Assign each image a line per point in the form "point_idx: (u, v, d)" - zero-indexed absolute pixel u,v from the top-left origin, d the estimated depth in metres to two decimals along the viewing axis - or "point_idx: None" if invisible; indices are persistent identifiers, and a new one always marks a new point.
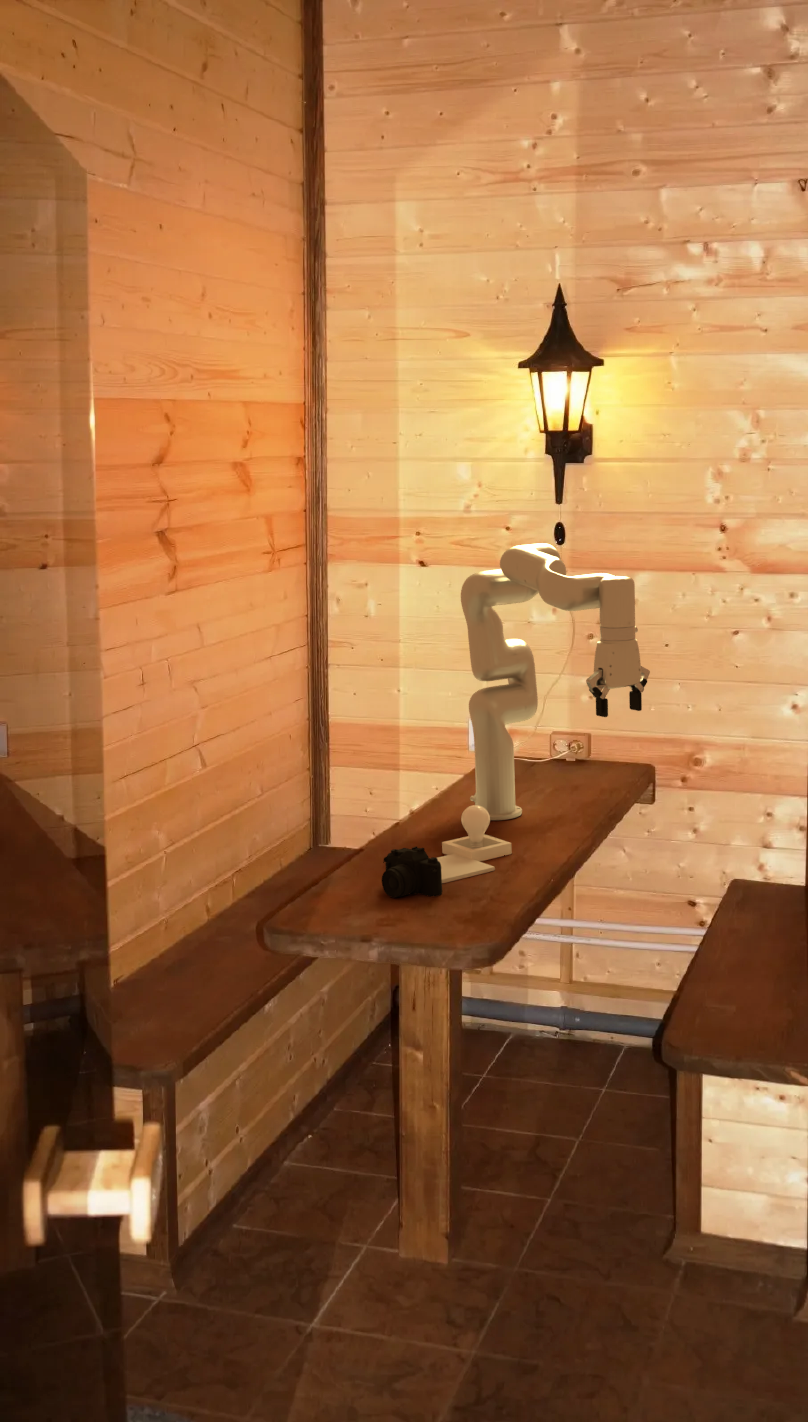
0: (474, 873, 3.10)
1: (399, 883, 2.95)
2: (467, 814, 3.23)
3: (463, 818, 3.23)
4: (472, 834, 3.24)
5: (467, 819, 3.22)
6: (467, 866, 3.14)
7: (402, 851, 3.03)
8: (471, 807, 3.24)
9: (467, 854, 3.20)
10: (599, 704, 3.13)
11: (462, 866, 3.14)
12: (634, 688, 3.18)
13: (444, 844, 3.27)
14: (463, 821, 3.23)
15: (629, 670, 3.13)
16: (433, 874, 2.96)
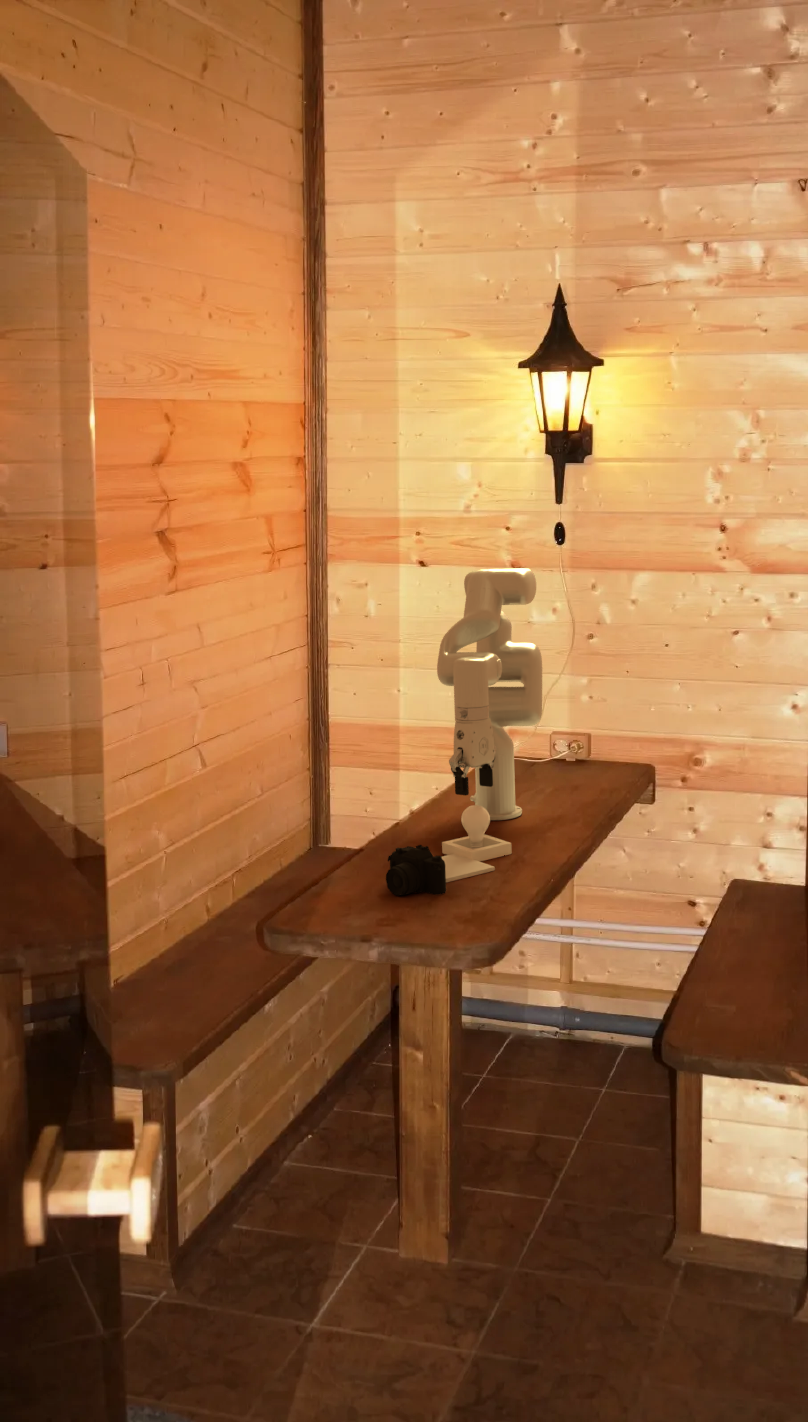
0: (474, 873, 3.10)
1: (403, 881, 2.96)
2: (467, 814, 3.23)
3: (463, 818, 3.23)
4: (472, 834, 3.24)
5: (467, 819, 3.22)
6: (467, 866, 3.14)
7: (406, 849, 3.04)
8: (471, 807, 3.24)
9: (467, 854, 3.20)
10: None
11: (462, 866, 3.14)
12: None
13: (444, 844, 3.27)
14: (463, 821, 3.23)
15: None
16: (437, 872, 2.97)
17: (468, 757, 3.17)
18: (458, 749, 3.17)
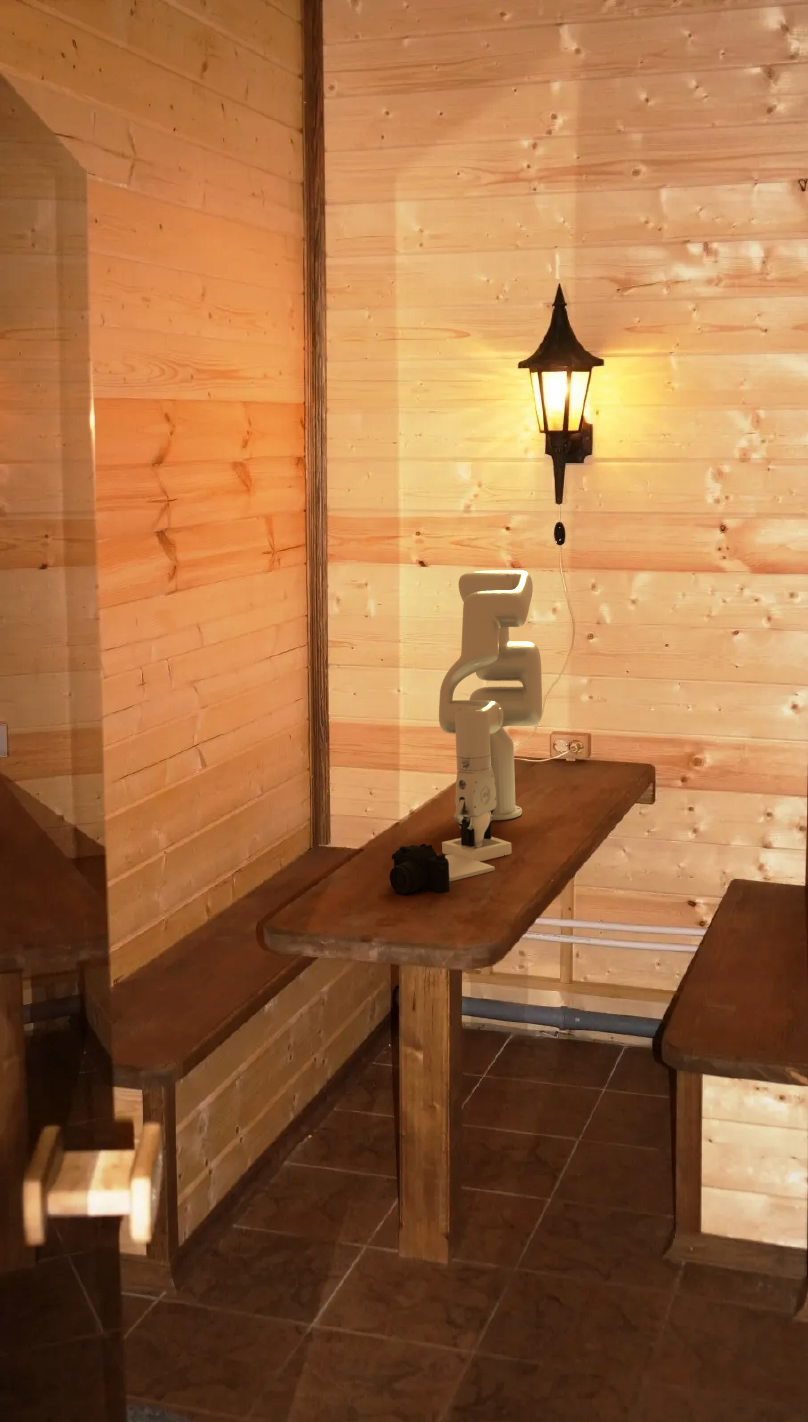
0: (474, 873, 3.10)
1: (407, 880, 2.97)
2: None
3: None
4: None
5: (467, 819, 3.22)
6: (467, 866, 3.14)
7: (410, 848, 3.05)
8: None
9: (467, 854, 3.20)
10: None
11: (462, 866, 3.14)
12: None
13: (444, 844, 3.27)
14: None
15: None
16: (441, 871, 2.98)
17: (470, 807, 3.19)
18: (461, 801, 3.20)
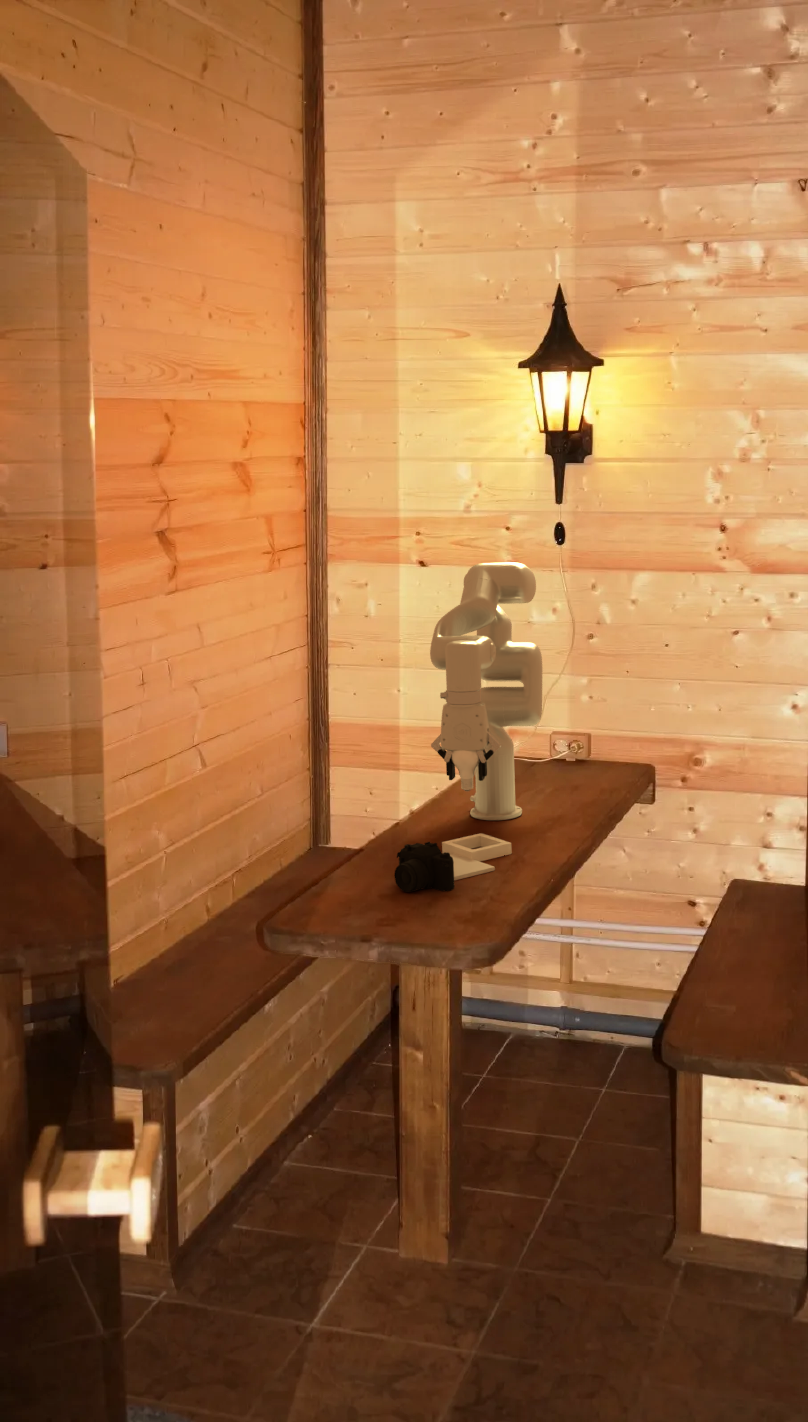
0: (474, 873, 3.10)
1: (411, 878, 2.98)
2: None
3: None
4: None
5: None
6: (467, 866, 3.14)
7: (415, 846, 3.06)
8: None
9: (467, 854, 3.20)
10: (486, 766, 3.19)
11: (462, 866, 3.14)
12: (450, 757, 3.20)
13: (444, 844, 3.27)
14: None
15: None
16: (445, 869, 2.99)
17: (441, 738, 3.18)
18: None
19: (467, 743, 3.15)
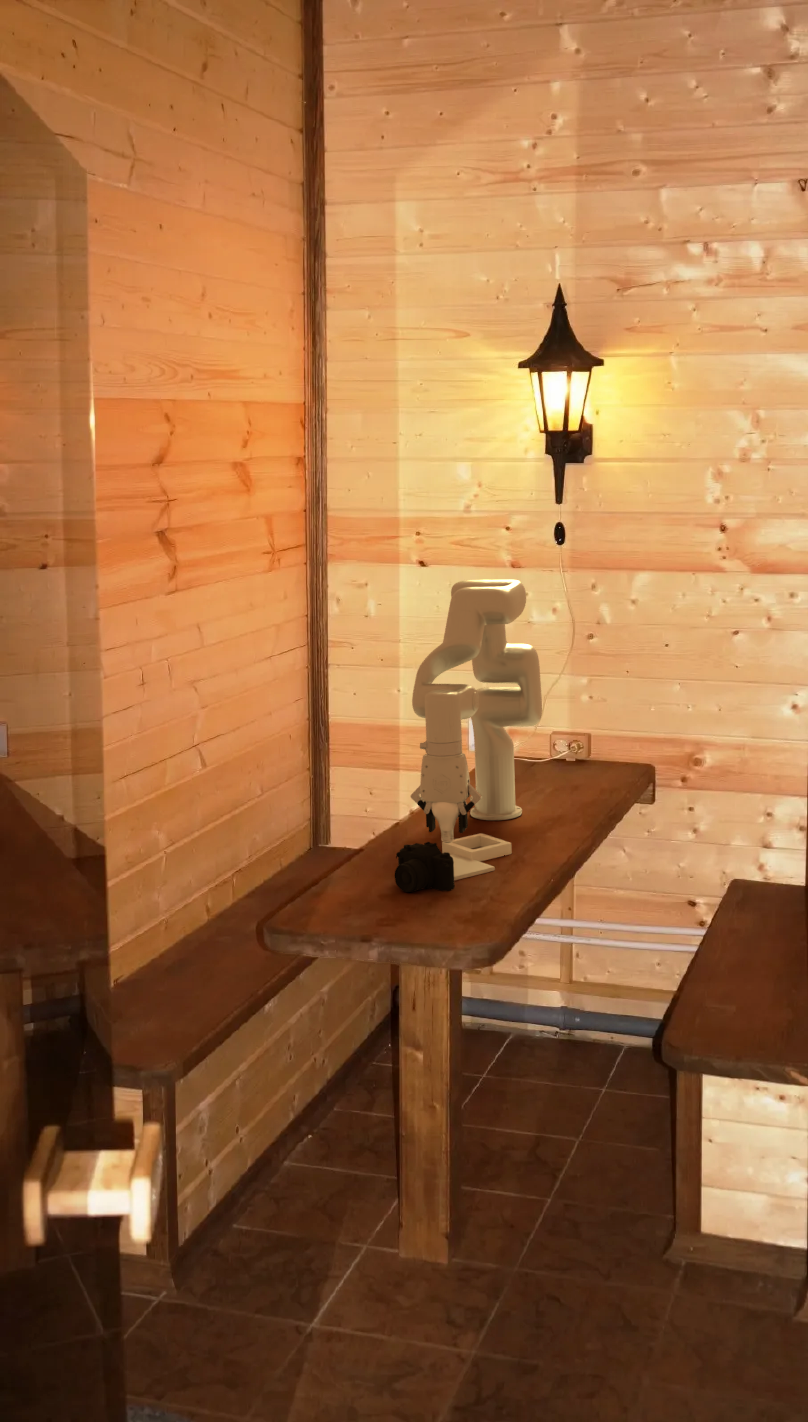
0: (474, 873, 3.10)
1: (412, 878, 2.98)
2: None
3: None
4: None
5: None
6: (467, 866, 3.14)
7: (415, 846, 3.06)
8: None
9: (467, 854, 3.20)
10: (466, 818, 3.12)
11: (462, 866, 3.14)
12: (430, 808, 3.13)
13: (444, 844, 3.27)
14: None
15: None
16: (445, 869, 2.99)
17: None
18: None
19: (447, 795, 3.09)
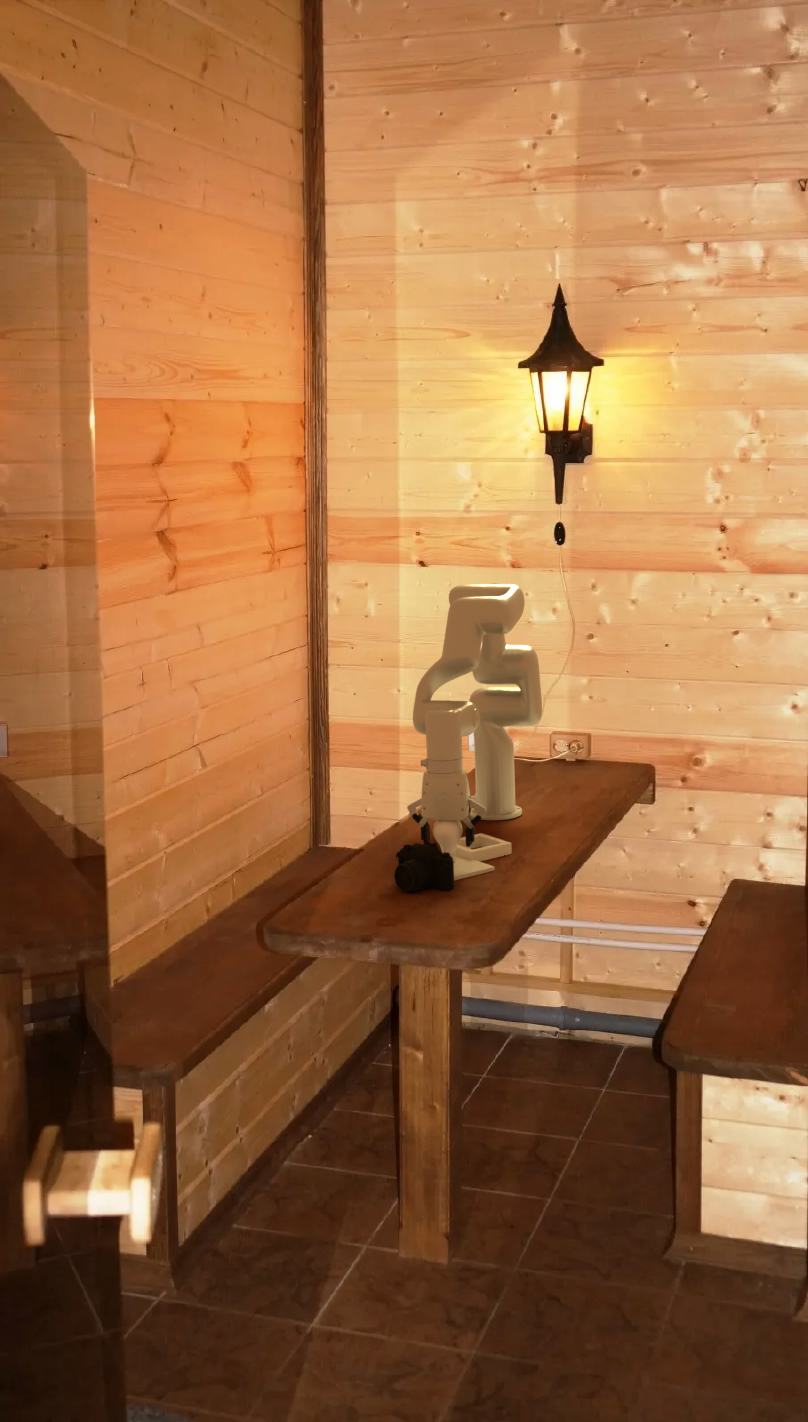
0: (474, 873, 3.10)
1: (412, 878, 2.98)
2: None
3: None
4: None
5: None
6: (467, 866, 3.14)
7: (414, 846, 3.06)
8: None
9: (467, 854, 3.20)
10: (473, 832, 3.12)
11: (462, 866, 3.14)
12: (425, 822, 3.14)
13: None
14: None
15: None
16: (445, 869, 2.99)
17: (421, 807, 3.12)
18: None
19: (448, 812, 3.09)
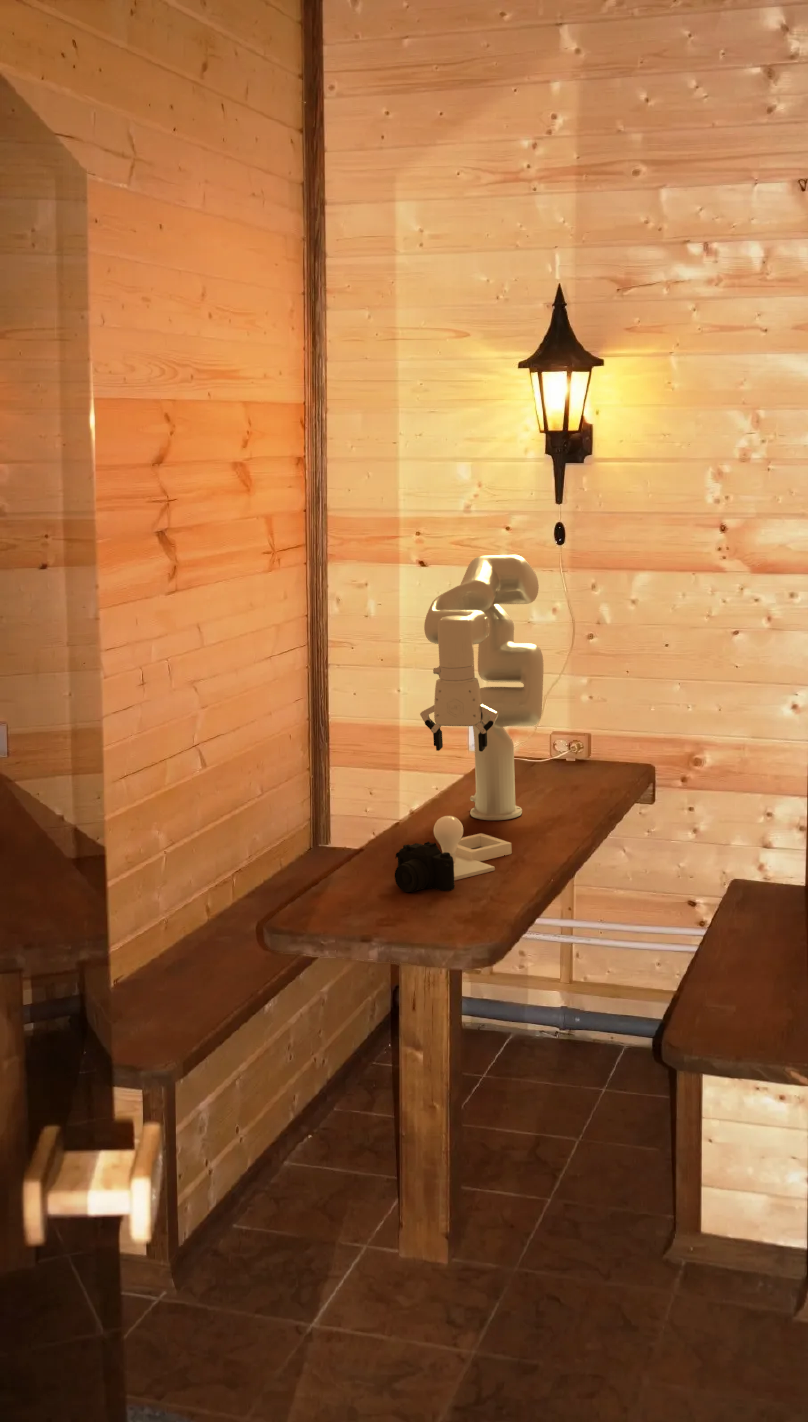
0: (474, 873, 3.10)
1: (412, 878, 2.98)
2: None
3: None
4: None
5: None
6: (467, 866, 3.14)
7: (414, 846, 3.06)
8: None
9: (467, 854, 3.20)
10: (486, 737, 3.20)
11: (462, 866, 3.14)
12: None
13: None
14: None
15: None
16: (446, 869, 2.99)
17: None
18: None
19: (460, 718, 3.17)
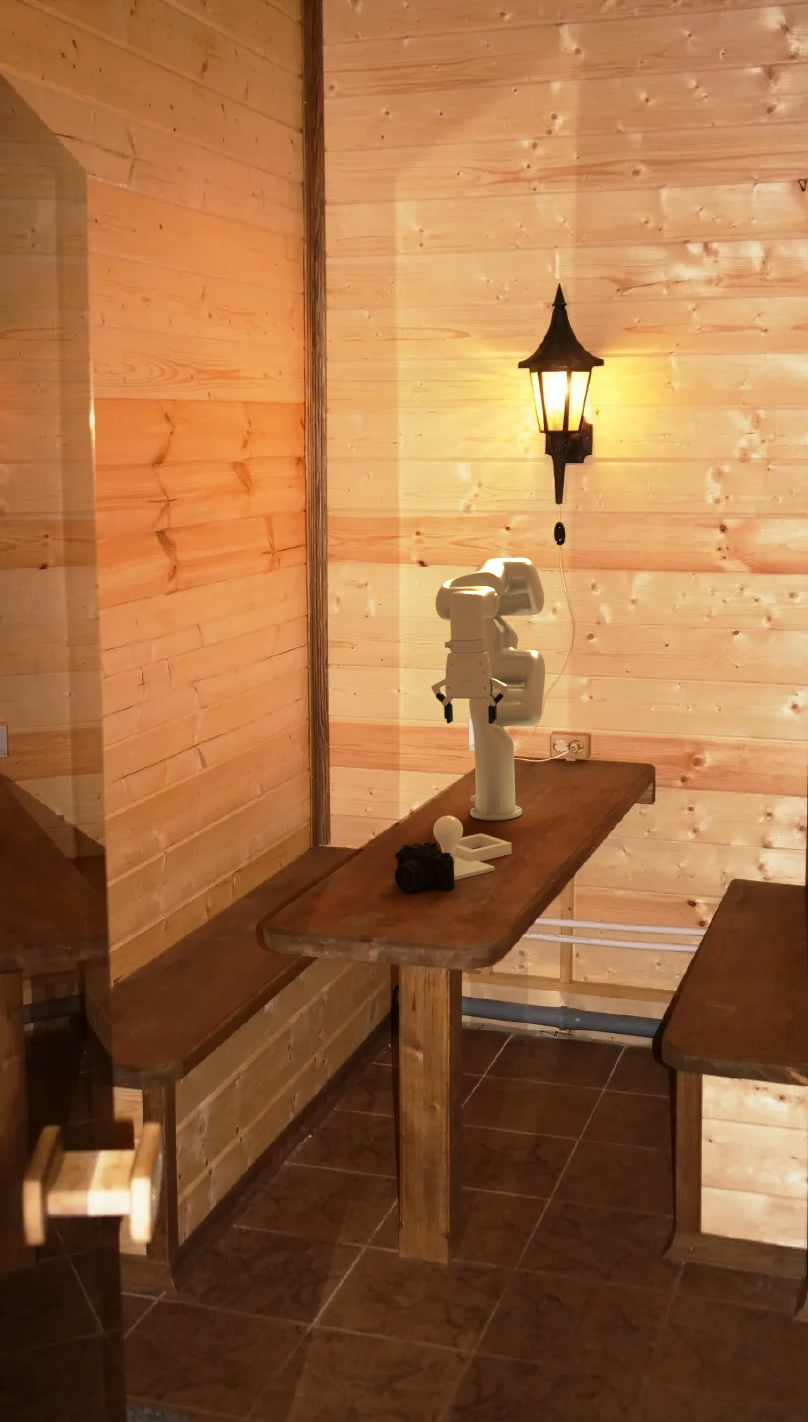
0: (474, 873, 3.10)
1: (413, 878, 2.98)
2: None
3: None
4: None
5: None
6: (467, 866, 3.14)
7: (414, 846, 3.06)
8: (443, 816, 3.14)
9: (467, 854, 3.20)
10: (496, 710, 3.26)
11: (462, 866, 3.14)
12: None
13: None
14: None
15: None
16: (446, 869, 2.99)
17: None
18: None
19: (471, 691, 3.24)
